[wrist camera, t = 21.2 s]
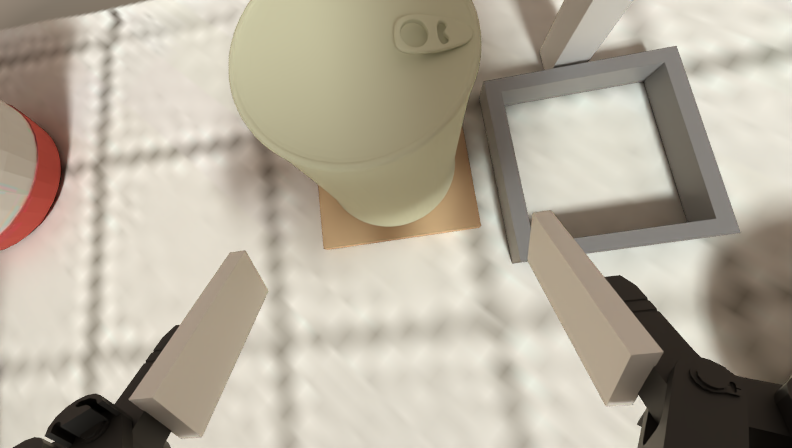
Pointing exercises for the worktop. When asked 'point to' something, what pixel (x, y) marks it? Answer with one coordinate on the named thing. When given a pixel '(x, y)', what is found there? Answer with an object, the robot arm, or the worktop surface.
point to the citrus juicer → (24, 175)
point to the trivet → (445, 217)
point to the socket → (572, 73)
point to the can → (360, 95)
